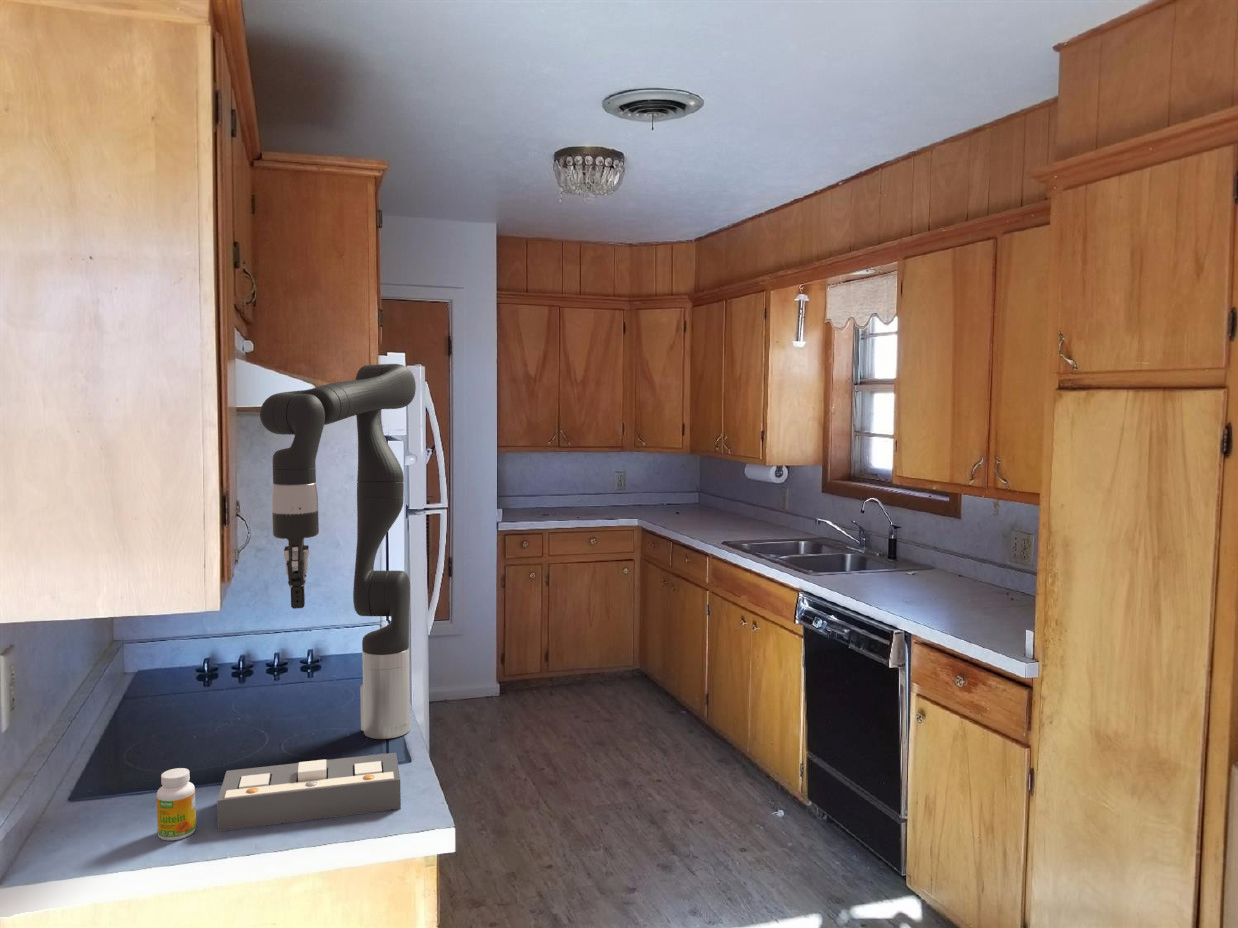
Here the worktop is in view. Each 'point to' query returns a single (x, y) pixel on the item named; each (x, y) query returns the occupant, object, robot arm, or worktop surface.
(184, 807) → the supplement bottle
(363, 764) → the far key
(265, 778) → the near key
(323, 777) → the middle key
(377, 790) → the button board
